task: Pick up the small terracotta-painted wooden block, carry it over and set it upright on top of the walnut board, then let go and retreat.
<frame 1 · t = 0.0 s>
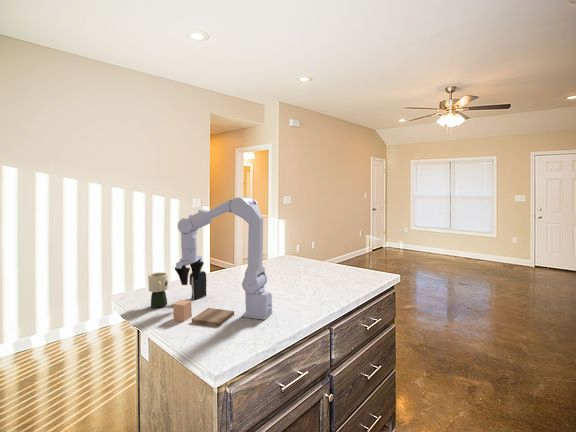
hand: (190, 282, 130), 10 cm above the worktop, tool pointing down, fingers open, 7 cm apart
battery charger: (198, 297, 143), on the worktop
terracotta block: (182, 318, 119), on the worktop
walnut board: (213, 320, 119), on the worktop
character mug: (159, 306, 132), on the worktop
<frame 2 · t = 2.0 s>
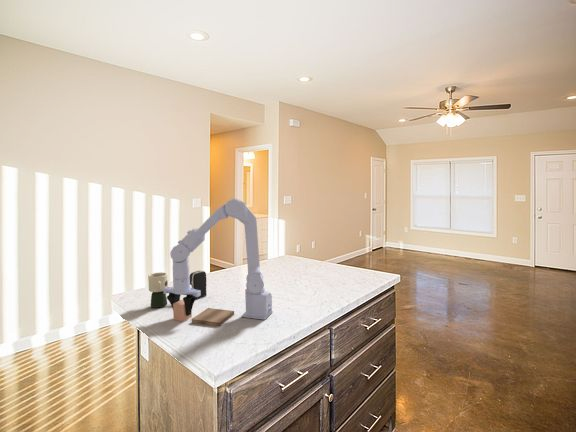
hand: (182, 314, 119), 2 cm above the worktop, tool pointing down, fingers closed on terracotta block, 4 cm apart
terracotta block: (182, 318, 119), on the worktop, touching gripper
everything else where it was.
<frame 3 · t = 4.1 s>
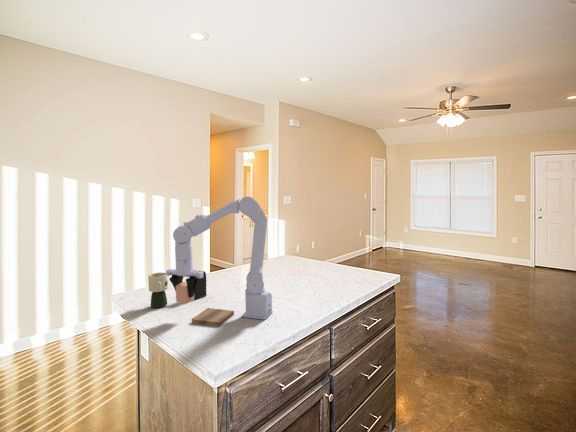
hand: (185, 296, 118), 8 cm above the worktop, tool pointing down, fingers closed on terracotta block, 4 cm apart
terracotta block: (185, 300, 119), point 7 cm above the worktop, touching gripper
everything else where it was.
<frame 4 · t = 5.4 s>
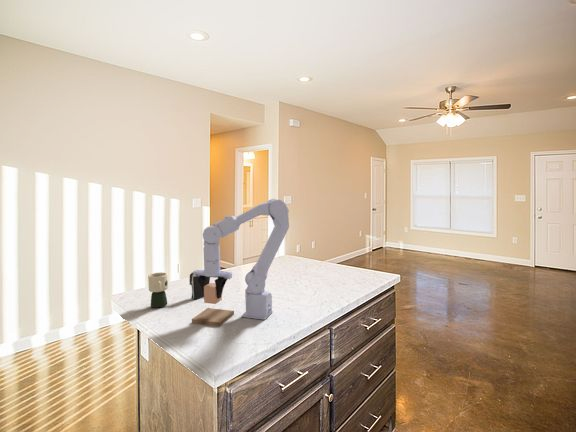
hand: (213, 296, 118), 8 cm above the worktop, tool pointing down, fingers closed on terracotta block, 4 cm apart
terracotta block: (213, 301, 118), point 6 cm above the worktop, touching gripper
everything else where it was.
when the fingers open (5 cm above the worktop, at t = 6.5 s): terracotta block drops 2 cm, resting on walnut board.
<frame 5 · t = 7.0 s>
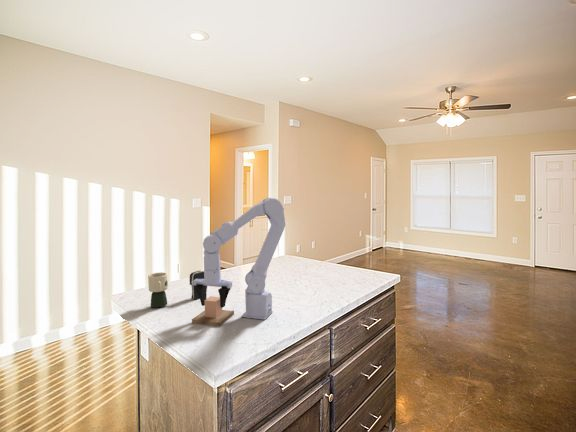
hand: (213, 305, 118), 5 cm above the worktop, tool pointing down, fingers open, 7 cm apart
terracotta block: (213, 315, 119), point 1 cm above the worktop, touching walnut board
walnut board: (213, 320, 119), on the worktop, touching terracotta block
everything else where it was.
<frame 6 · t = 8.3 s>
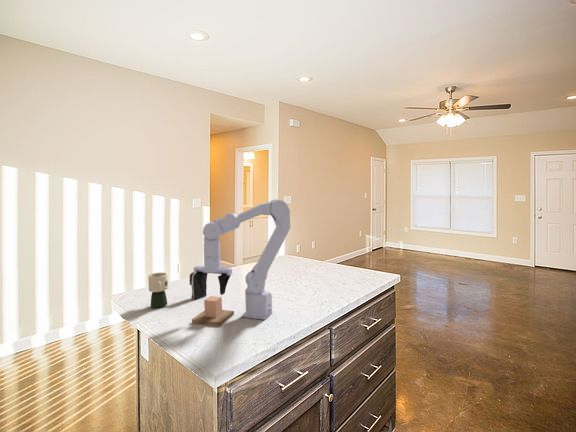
hand: (213, 293, 118), 9 cm above the worktop, tool pointing down, fingers open, 7 cm apart
terracotta block: (213, 314, 119), point 1 cm above the worktop
walnut board: (213, 320, 119), on the worktop
everything else where it was.
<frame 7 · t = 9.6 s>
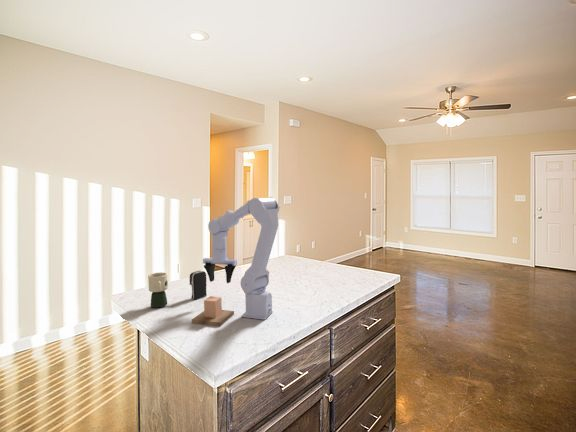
hand: (220, 281, 133), 9 cm above the worktop, tool pointing down, fingers open, 7 cm apart
terracotta block: (213, 315, 119), point 1 cm above the worktop, touching walnut board
walnut board: (213, 320, 119), on the worktop, touching terracotta block
everything else where it was.
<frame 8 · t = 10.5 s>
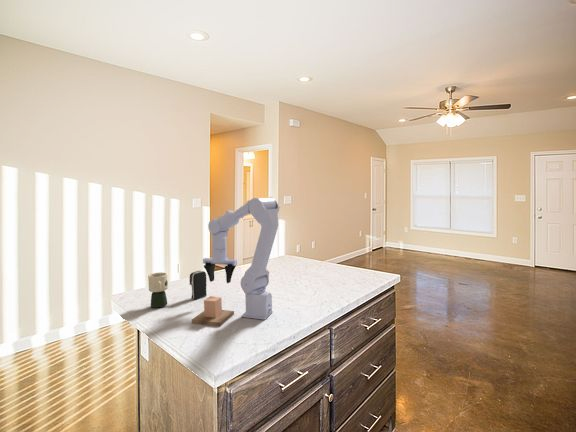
hand: (220, 281, 133), 9 cm above the worktop, tool pointing down, fingers open, 7 cm apart
nothing on the worktop moved.
at the end: terracotta block 0.1 cm off-centre on the walnut board, point 2.0 cm above the walnut board's base; terracotta block tilted 1°; the gripper is holding nothing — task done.
